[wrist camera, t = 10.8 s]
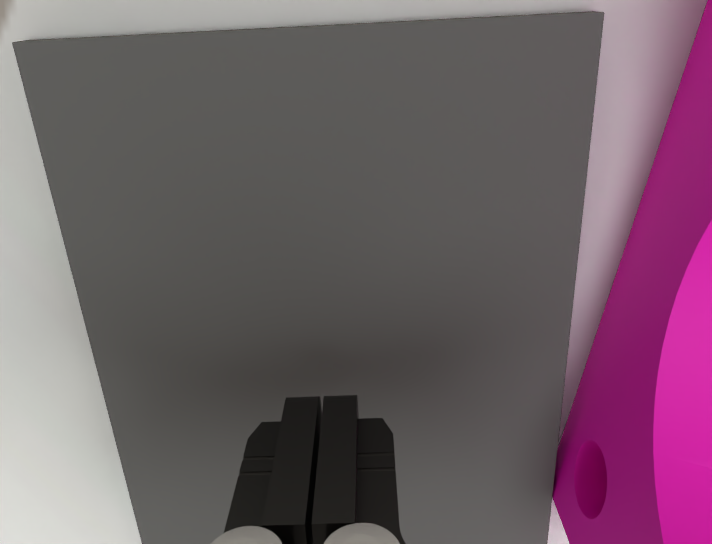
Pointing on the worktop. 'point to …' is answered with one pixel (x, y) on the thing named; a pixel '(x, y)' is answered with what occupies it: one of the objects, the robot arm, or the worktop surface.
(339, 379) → the rubber mat
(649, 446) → the magenta pipe clamp
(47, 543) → the worktop surface
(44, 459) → the worktop surface
